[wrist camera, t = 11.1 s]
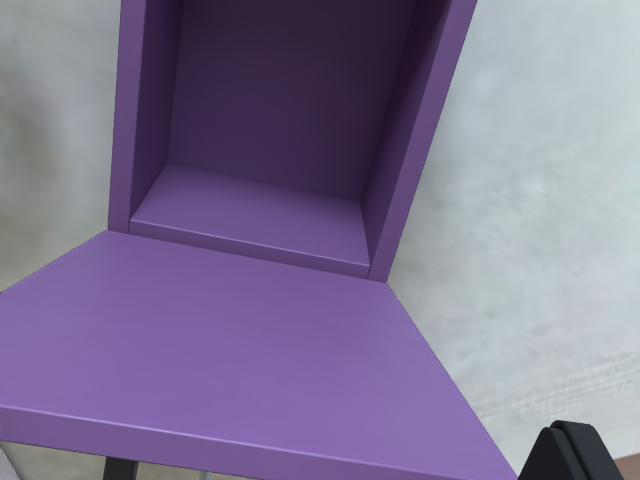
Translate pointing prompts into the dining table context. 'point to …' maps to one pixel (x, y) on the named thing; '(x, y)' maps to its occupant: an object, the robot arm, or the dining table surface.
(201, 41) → the file box
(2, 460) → the scissors
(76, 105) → the dining table surface
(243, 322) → the lid
